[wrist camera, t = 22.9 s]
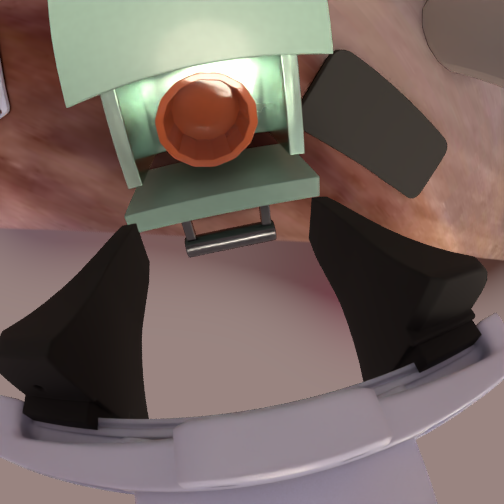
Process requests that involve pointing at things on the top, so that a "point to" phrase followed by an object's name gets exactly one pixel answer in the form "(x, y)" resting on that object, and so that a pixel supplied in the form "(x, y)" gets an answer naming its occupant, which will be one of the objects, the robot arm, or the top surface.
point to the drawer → (222, 176)
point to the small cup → (206, 119)
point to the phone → (372, 123)
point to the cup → (467, 37)
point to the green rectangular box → (174, 37)
